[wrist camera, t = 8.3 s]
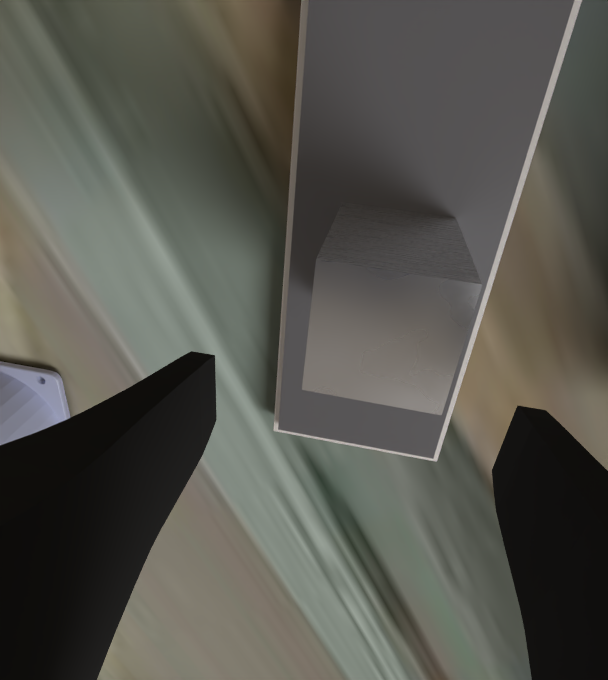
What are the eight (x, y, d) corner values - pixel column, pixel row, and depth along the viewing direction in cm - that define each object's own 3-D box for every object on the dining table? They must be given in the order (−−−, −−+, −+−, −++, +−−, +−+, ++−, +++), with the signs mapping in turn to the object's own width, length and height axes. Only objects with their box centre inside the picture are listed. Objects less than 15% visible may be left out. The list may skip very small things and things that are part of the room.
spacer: (329, 303, 18) (301, 390, 13) (342, 202, 16) (316, 259, 11) (429, 319, 18) (441, 415, 13) (456, 217, 16) (482, 284, 11)
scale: (278, 416, 24) (261, 464, 21) (326, -268, 12) (302, -380, 9) (435, 445, 23) (440, 500, 20) (652, -265, 11) (742, -388, 8)
